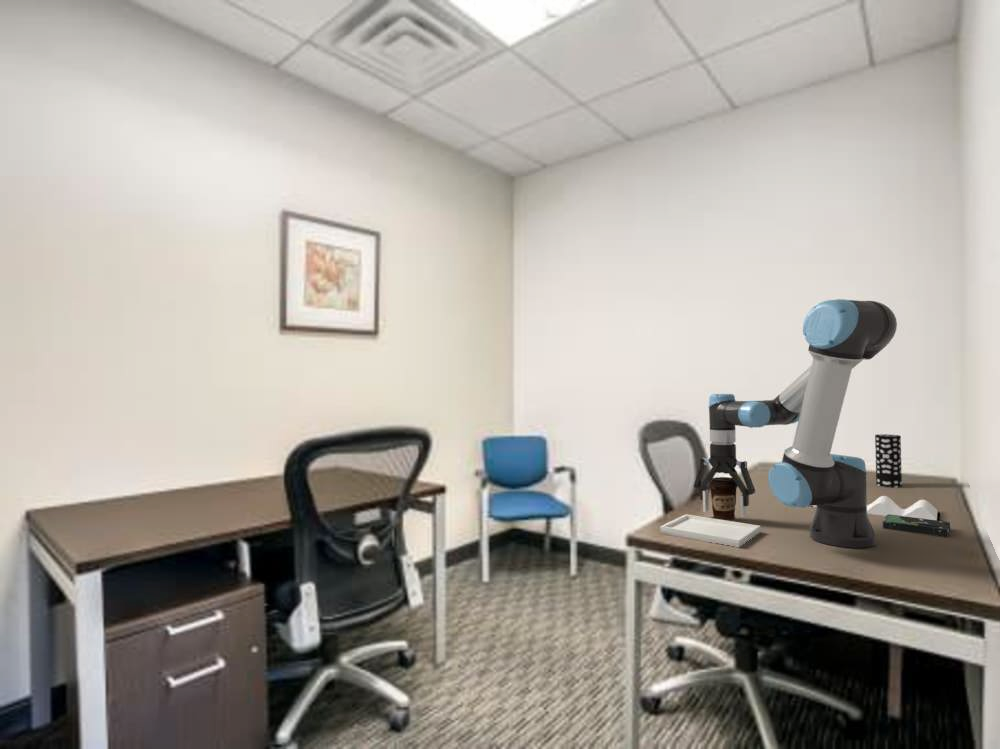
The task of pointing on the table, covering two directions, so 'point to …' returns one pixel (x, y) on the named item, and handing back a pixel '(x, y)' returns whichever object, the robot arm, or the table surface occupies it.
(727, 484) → the coffee cup
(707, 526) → the tray
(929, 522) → the disk drive
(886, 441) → the white-spotted black cylinder
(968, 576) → the table surface
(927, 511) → the white wavy piece
